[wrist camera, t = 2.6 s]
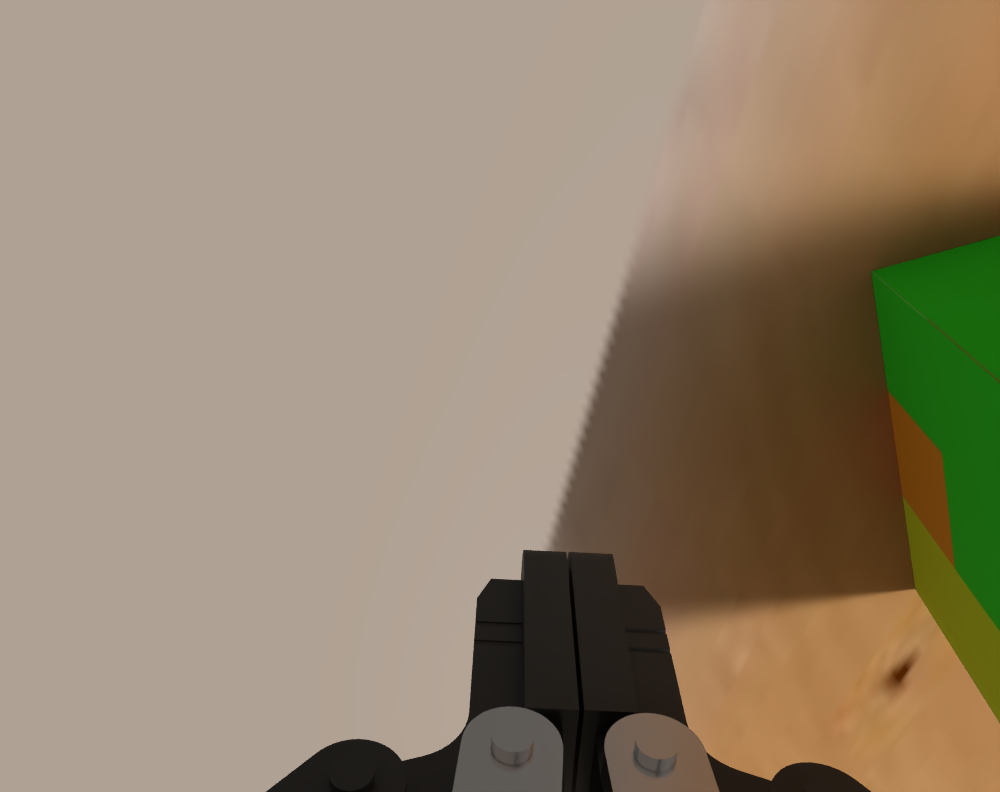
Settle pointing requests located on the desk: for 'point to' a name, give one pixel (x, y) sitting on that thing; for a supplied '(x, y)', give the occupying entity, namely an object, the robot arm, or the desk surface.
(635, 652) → the robot arm
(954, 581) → the puzzle toy
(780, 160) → the desk surface
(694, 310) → the desk surface
